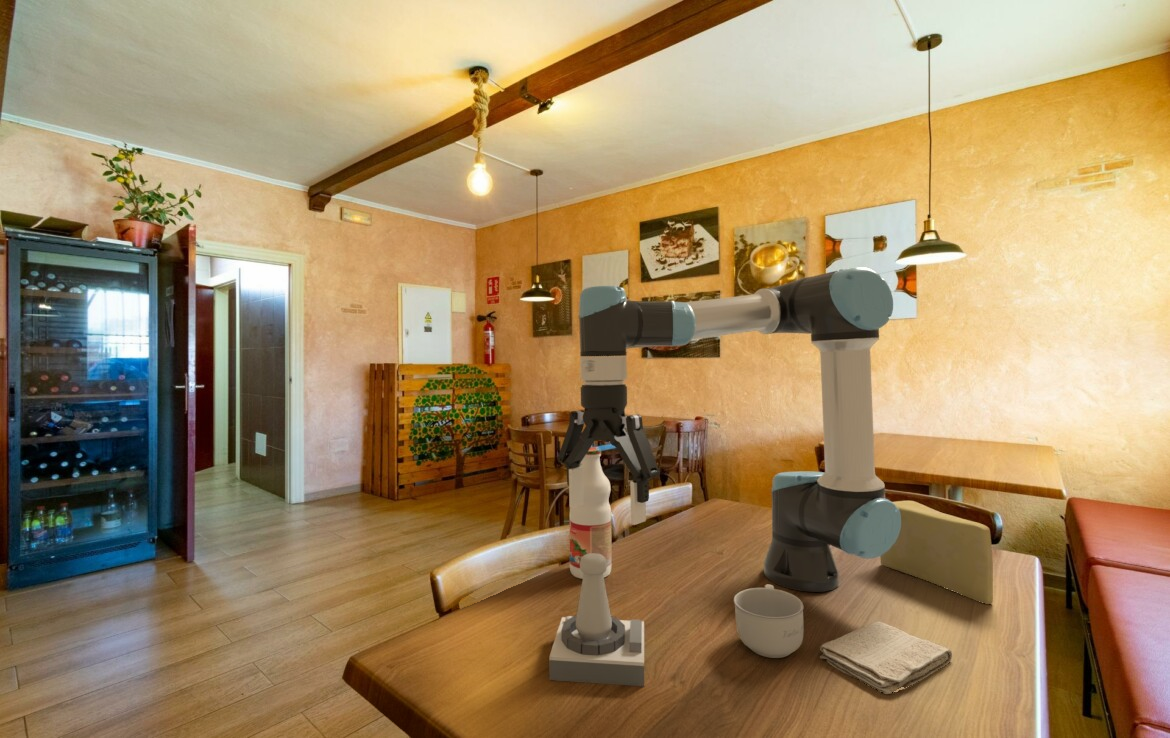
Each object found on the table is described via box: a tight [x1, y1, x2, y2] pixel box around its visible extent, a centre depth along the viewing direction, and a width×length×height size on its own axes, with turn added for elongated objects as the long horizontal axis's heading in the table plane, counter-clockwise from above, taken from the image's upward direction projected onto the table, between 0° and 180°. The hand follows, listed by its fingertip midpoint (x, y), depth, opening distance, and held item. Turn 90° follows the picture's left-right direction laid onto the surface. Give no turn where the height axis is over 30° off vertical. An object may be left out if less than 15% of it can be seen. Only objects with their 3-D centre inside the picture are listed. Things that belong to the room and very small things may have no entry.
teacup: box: [733, 584, 804, 659], centre depth 86 cm, size 14×11×8 cm
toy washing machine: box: [548, 614, 645, 687], centre depth 82 cm, size 14×12×5 cm
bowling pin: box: [576, 553, 612, 641], centre depth 82 cm, size 6×6×13 cm
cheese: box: [879, 500, 994, 605], centre depth 110 cm, size 22×10×15 cm, turn 15°
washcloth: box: [819, 621, 953, 695], centre depth 82 cm, size 12×18×3 cm, turn 121°
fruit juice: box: [569, 446, 612, 580], centre depth 116 cm, size 9×9×28 cm
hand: (605, 513), depth 84 cm, fingers open, 13 cm apart
